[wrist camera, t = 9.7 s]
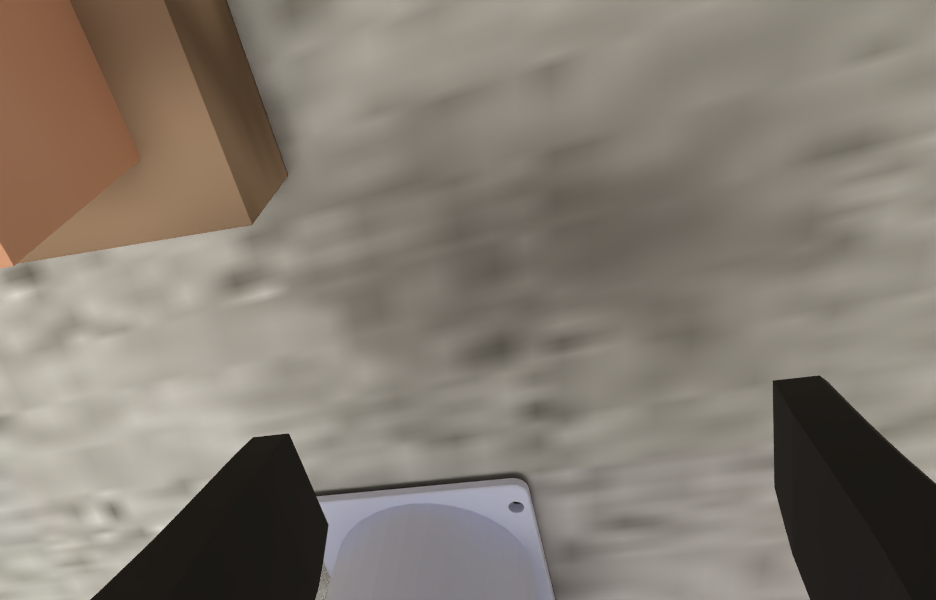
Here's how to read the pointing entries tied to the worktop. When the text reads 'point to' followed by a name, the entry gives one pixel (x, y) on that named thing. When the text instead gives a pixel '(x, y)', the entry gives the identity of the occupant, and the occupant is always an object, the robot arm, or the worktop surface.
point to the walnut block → (174, 127)
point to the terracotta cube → (52, 124)
